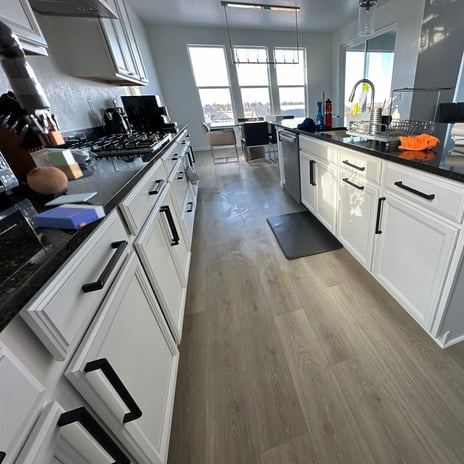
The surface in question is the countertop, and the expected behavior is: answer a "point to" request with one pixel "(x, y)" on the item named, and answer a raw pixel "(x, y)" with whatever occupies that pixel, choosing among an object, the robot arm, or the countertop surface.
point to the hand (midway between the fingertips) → (54, 144)
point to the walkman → (69, 216)
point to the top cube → (54, 138)
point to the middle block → (61, 157)
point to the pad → (71, 198)
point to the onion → (47, 180)
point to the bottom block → (70, 170)
